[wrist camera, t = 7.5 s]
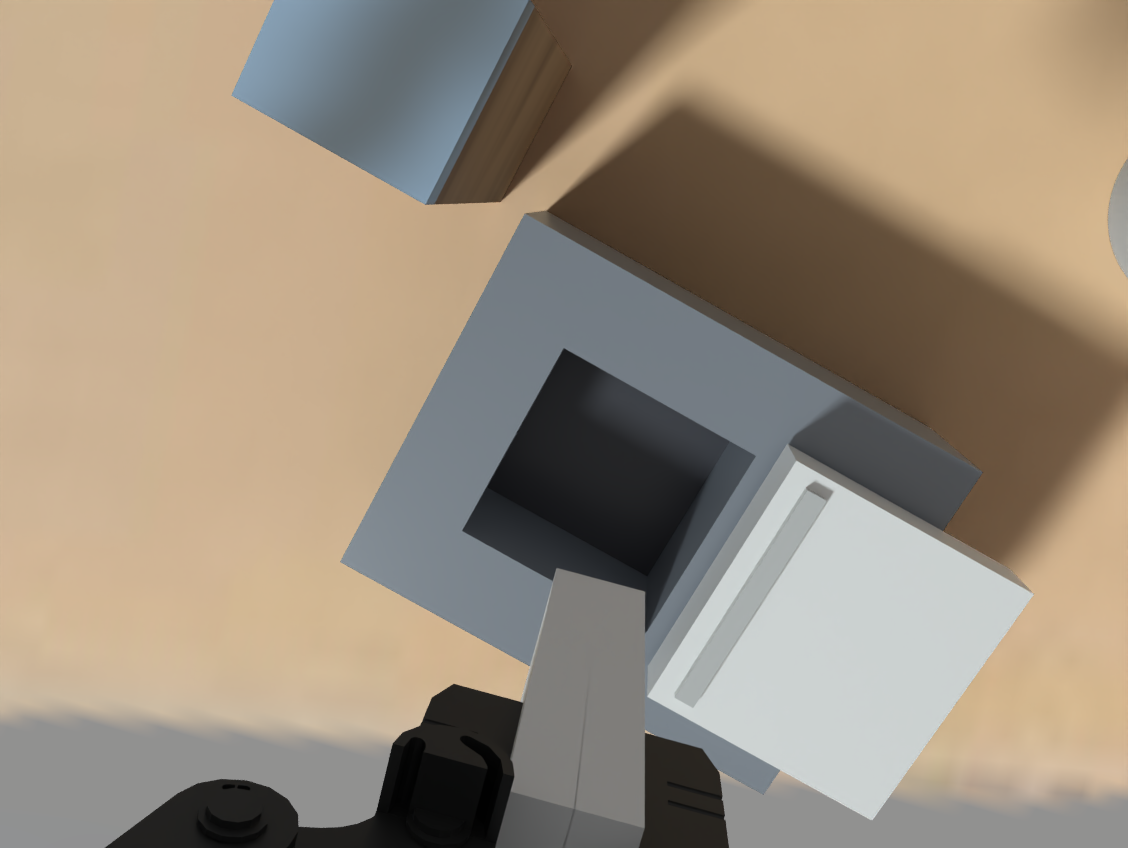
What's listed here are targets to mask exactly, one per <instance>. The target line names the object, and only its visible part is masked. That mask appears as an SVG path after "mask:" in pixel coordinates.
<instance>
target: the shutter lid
mask: <svg viewBox="0 0 1128 848" xmlns="http://www.w3.org/2000/svg"><path fill="white" fill-rule="evenodd" d="M1033 595H1034V594H1033V593H1032V592H1031V591H1030V589H1029V588H1028V587H1027V586H1026V585H1025V584H1024V583H1023V582H1022V581H1021V580H1020V579H1019V578H1018V577H1017V576H1016V575H1015V574H1014V573H1013V572H1012V571H1011V570H1010V569H1009V568H1008V567H1006V566H1004V565H1002V564H1000V563H999V562H997V561H995V560H993V559H992V558H990V557H988V556H986V555H984V554H983V553H981V552H979V551H977V550H976V549H974V548H972V547H970V546H968V545H967V544H965V543H963V542H961V541H960V540H958V539H956V538H954V537H952V536H951V535H949V534H947V533H945V532H943V531H942V530H940V529H938V528H936V527H935V526H933V525H931V524H929V523H927V522H926V521H924V520H922V519H920V518H919V517H917V516H915V515H913V514H911V513H910V512H908V511H906V510H904V509H903V508H901V507H899V506H897V505H895V504H894V503H892V502H890V501H888V500H887V499H885V498H883V497H881V496H879V495H878V494H876V493H874V492H872V491H871V490H869V489H867V488H865V487H863V486H862V485H860V484H858V483H856V482H855V481H853V480H851V479H849V478H847V477H846V476H844V475H842V474H840V473H839V472H837V471H835V470H833V469H831V468H830V467H828V466H826V465H824V464H822V463H821V462H819V461H817V460H815V459H814V458H812V457H810V456H808V455H806V454H805V453H803V452H801V451H799V450H798V449H796V448H794V447H792V446H790V445H789V444H787V445H786V446H785V448H784V450H783V451H782V453H781V454H780V456H779V458H778V459H777V461H776V462H775V464H774V466H773V467H772V469H771V470H770V472H769V474H768V475H767V477H766V478H765V480H764V482H763V483H762V485H761V486H760V488H759V490H758V491H757V493H756V494H755V496H754V498H753V499H752V501H751V502H750V504H749V506H748V507H747V509H746V510H745V512H744V514H743V515H742V517H741V518H740V520H739V521H738V523H737V525H736V526H735V528H734V529H733V531H732V533H731V534H730V536H729V537H728V539H727V541H726V542H725V544H724V545H723V547H722V549H721V550H720V552H719V553H718V555H717V557H716V558H715V560H714V561H713V563H712V565H711V566H710V568H709V569H708V571H707V573H706V574H705V576H704V577H703V579H702V581H701V582H700V584H699V585H698V587H697V589H696V590H695V592H694V593H693V595H692V596H691V598H690V600H689V601H688V603H687V604H686V606H685V608H684V609H683V611H682V612H681V614H680V616H679V617H678V619H677V620H676V622H675V624H674V625H673V627H672V628H671V630H670V632H669V633H668V635H667V636H666V638H665V640H664V641H663V643H662V644H661V646H660V648H659V649H658V651H657V652H656V654H655V656H654V657H653V659H652V660H651V662H650V664H649V665H648V682H647V697H649V698H650V699H652V700H654V701H656V702H658V703H659V704H661V705H663V706H665V707H667V708H669V709H670V710H672V711H674V712H676V713H678V714H679V715H681V716H683V717H685V718H687V719H688V720H690V721H692V722H694V723H696V724H698V725H699V726H701V727H703V728H705V729H707V730H708V731H710V732H712V733H714V734H716V735H718V736H719V737H721V738H723V739H725V740H727V741H728V742H730V743H732V744H734V745H736V746H737V747H739V748H741V749H743V750H745V751H747V752H748V753H750V754H752V755H754V756H756V757H757V758H759V759H761V760H763V761H765V762H767V763H768V764H770V765H772V766H774V767H776V768H777V769H779V770H781V771H783V772H785V773H786V774H788V775H790V776H792V777H794V778H796V779H797V780H799V781H801V782H803V783H805V784H806V785H808V786H810V787H812V788H814V789H815V790H817V791H819V792H821V793H823V794H825V795H826V796H828V797H830V798H832V799H834V800H835V801H837V802H839V803H841V804H843V805H845V806H846V807H848V808H850V809H852V810H854V811H855V812H857V813H859V814H861V815H863V816H865V817H866V818H868V819H870V820H873V818H874V817H875V816H876V814H877V813H878V811H879V810H880V809H881V807H882V806H883V804H884V803H885V801H886V800H887V799H888V797H889V796H890V795H891V793H892V792H893V790H894V789H895V788H896V786H897V785H898V783H899V782H900V781H901V779H902V778H903V776H904V775H905V774H906V772H907V771H908V769H909V768H910V767H911V765H912V764H913V762H914V761H915V760H916V758H917V757H918V755H919V754H920V753H921V751H922V750H923V749H924V747H925V746H926V744H927V743H928V742H929V740H930V739H931V737H932V736H933V735H934V733H935V732H936V730H937V729H938V728H939V726H940V725H941V723H942V722H943V721H944V719H945V718H946V716H947V715H948V714H949V712H950V711H951V709H952V708H953V707H954V705H955V704H956V702H957V701H958V700H959V698H960V697H961V695H962V694H963V693H964V691H965V690H966V688H967V687H968V686H969V684H970V683H971V681H972V680H973V679H974V677H975V676H976V674H977V673H978V672H979V670H980V669H981V667H982V666H983V665H984V663H985V662H986V660H987V659H988V658H989V656H990V655H991V653H992V652H993V651H994V649H995V648H996V647H997V645H998V644H999V642H1000V641H1001V640H1002V638H1003V637H1004V635H1005V634H1006V633H1007V631H1008V630H1009V628H1010V627H1011V626H1012V624H1013V623H1014V621H1015V620H1016V619H1017V617H1018V616H1019V614H1020V613H1021V612H1022V610H1023V609H1024V607H1025V606H1026V605H1027V603H1028V602H1029V600H1030V599H1031V598H1032V596H1033Z"/></svg>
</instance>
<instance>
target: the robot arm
mask: <svg viewBox="0 0 1128 848" xmlns="http://www.w3.org/2000/svg"><path fill="white" fill-rule="evenodd" d="M724 816H725V814H724V806H723V801H722V790H721V782H720V774H719V772H718V770H717V769H716V767H715V766H714V765H713V763H712V762H711V760H710V759H709V757H708V756H707V755H706V753H705V752H704V750H703V749H702V748H698V747H695V746H691V745H687V744H684V743H680V742H676V741H673V740H669V739H665V738H662V737H658V736H654V735H651V734H647V733H645V592H644V591H641V590H637V589H633V588H630V587H626V586H622V585H618V584H615V583H611V582H607V581H604V580H600V579H596V578H592V577H589V576H585V575H581V574H578V573H574V572H570V571H566V570H563V569H559V568H556V572H555V576H554V579H553V583H552V587H551V591H550V594H549V598H548V602H547V605H546V609H545V613H544V617H543V620H542V624H541V628H540V631H539V635H538V639H537V642H536V646H535V650H534V654H533V657H532V661H531V665H530V668H529V672H528V676H527V679H526V683H525V687H524V691H523V694H522V698H521V702H519V701H515V700H511V699H508V698H504V697H500V696H496V695H493V694H489V693H485V692H482V691H478V690H474V689H471V688H467V687H463V686H460V685H456V684H453V685H451V686H450V687H448V688H447V689H445V690H443V691H442V692H440V693H439V694H437V695H435V696H434V697H432V699H431V701H430V704H429V706H428V708H427V711H426V713H425V716H424V718H423V722H422V723H421V725H420V726H419V727H416V728H414V729H411V730H408V731H406V732H403V733H402V734H401V735H400V736H399V737H398V738H397V739H396V741H395V742H394V743H393V745H392V749H391V753H390V757H389V762H388V766H387V770H386V774H385V778H384V782H383V786H382V791H381V795H380V799H379V803H378V807H377V811H376V814H375V816H374V817H372V818H370V819H368V820H366V821H363V822H361V823H358V824H354V825H350V826H344V827H338V828H310V827H298V814H297V812H296V811H295V809H294V808H293V806H292V805H291V803H290V802H289V800H288V799H287V798H285V797H283V796H282V795H280V794H279V793H277V792H276V791H274V790H273V789H271V788H270V787H266V786H263V785H259V784H256V783H253V782H250V781H245V780H227V779H220V780H214V781H209V782H203V783H198V784H196V785H194V786H192V787H190V788H188V789H186V790H184V791H182V792H180V793H178V794H176V795H175V796H174V797H172V798H171V799H170V800H168V801H167V802H166V803H164V804H163V805H162V806H160V807H159V808H158V809H156V810H155V811H154V812H152V813H151V814H150V815H148V816H147V817H145V818H144V819H143V820H141V821H140V822H139V823H137V824H136V825H135V826H134V827H132V828H131V829H130V830H128V831H127V832H125V833H124V834H123V835H121V836H120V837H119V838H117V839H116V840H115V841H113V842H112V843H111V844H109V845H108V846H107V847H106V848H729V845H728V838H727V830H726V821H725V820H724Z"/></svg>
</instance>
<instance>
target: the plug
mask: <svg viewBox="0 0 1128 848" xmlns="http://www.w3.org/2000/svg"><path fill="white" fill-rule="evenodd" d="M571 66H572V65H571V63H570V62H569V60H568V59H567V57H566V55H565V54H564V52H563V51H562V49H561V47H560V46H559V44H558V43H557V41H556V40H555V38H554V36H553V35H552V33H551V32H550V30H549V28H548V27H547V25H546V24H545V22H544V21H543V19H542V17H541V16H540V14H539V13H538V11H537V9H536V8H535V6H534V5H533V3H532V2H531V0H274V2H273V4H272V6H271V8H270V11H269V13H268V15H267V17H266V19H265V22H264V24H263V26H262V28H261V31H260V33H259V35H258V37H257V40H256V42H255V44H254V46H253V49H252V51H251V53H250V55H249V57H248V60H247V62H246V64H245V66H244V69H243V71H242V73H241V75H240V78H239V80H238V82H237V84H236V86H235V89H234V91H233V93H232V96H233V97H235V98H237V99H239V100H240V101H242V102H244V103H246V104H248V105H249V106H251V107H253V108H255V109H256V110H258V111H260V112H262V113H264V114H265V115H267V116H269V117H271V118H272V119H274V120H276V121H278V122H280V123H281V124H283V125H285V126H287V127H288V128H290V129H292V130H294V131H296V132H297V133H299V134H301V135H303V136H304V137H306V138H308V139H310V140H312V141H313V142H315V143H317V144H319V145H320V146H322V147H324V148H326V149H327V150H329V151H331V152H333V153H335V154H336V155H338V156H340V157H342V158H343V159H345V160H347V161H349V162H351V163H352V164H354V165H356V166H358V167H359V168H361V169H363V170H365V171H367V172H368V173H370V174H372V175H374V176H375V177H377V178H379V179H381V180H383V181H384V182H386V183H388V184H390V185H391V186H393V187H395V188H397V189H399V190H400V191H402V192H404V193H406V194H407V195H409V196H411V197H413V198H414V199H416V200H418V201H420V202H422V203H423V204H425V205H429V204H458V203H487V202H501V200H502V198H503V196H504V194H505V192H506V190H507V189H508V187H509V185H510V183H511V181H512V179H513V177H514V175H515V173H516V171H517V169H518V168H519V166H520V164H521V162H522V160H523V158H524V156H525V154H526V152H527V150H528V148H529V146H530V145H531V143H532V141H533V139H534V137H535V135H536V133H537V131H538V129H539V127H540V125H541V124H542V122H543V120H544V118H545V116H546V114H547V112H548V110H549V108H550V106H551V104H552V102H553V101H554V99H555V97H556V95H557V93H558V91H559V89H560V87H561V85H562V83H563V81H564V80H565V78H566V76H567V74H568V72H569V70H570V68H571Z"/></svg>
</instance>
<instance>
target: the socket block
mask: <svg viewBox="0 0 1128 848" xmlns="http://www.w3.org/2000/svg"><path fill="white" fill-rule="evenodd" d="M787 444H789V445H790V446H792V447H794V448H796V449H798V450H799V451H801V452H803V453H805V454H806V455H808V456H810V457H812V458H814V459H815V460H817V461H819V462H821V463H822V464H824V465H826V466H828V467H830V468H831V469H833V470H835V471H837V472H839V473H840V474H842V475H844V476H846V477H847V478H849V479H851V480H853V481H855V482H856V483H858V484H860V485H862V486H863V487H865V488H867V489H869V490H871V491H872V492H874V493H876V494H878V495H879V496H881V497H883V498H885V499H887V500H888V501H890V502H892V503H894V504H895V505H897V506H899V507H901V508H903V509H904V510H906V511H908V512H910V513H911V514H913V515H915V516H917V517H919V518H920V519H922V520H924V521H926V522H927V523H929V524H931V525H933V526H935V527H936V528H938V529H940V530H942V531H943V530H944V529H945V527H946V526H947V524H948V523H949V521H950V520H951V518H952V517H953V516H954V514H955V513H956V511H957V510H958V508H959V507H960V505H961V504H962V502H963V501H964V499H965V498H966V496H967V495H968V493H969V492H970V491H971V489H972V488H973V486H974V485H975V483H976V482H977V480H978V479H979V477H980V476H981V474H982V473H983V472H982V471H981V470H980V469H978V468H977V467H976V466H975V465H974V464H972V463H971V462H970V461H969V460H968V459H967V458H965V457H964V456H963V455H962V454H961V453H959V452H958V451H957V450H956V449H955V448H953V447H952V446H951V445H950V444H949V443H948V442H946V441H945V440H944V439H943V438H942V437H940V436H939V435H938V434H937V433H936V432H934V431H933V430H932V429H931V428H930V427H928V426H926V425H924V424H923V423H921V422H919V421H917V420H916V419H914V418H912V417H910V416H908V415H907V414H905V413H903V412H901V411H900V410H898V409H896V408H894V407H893V406H891V405H889V404H887V403H885V402H884V401H882V400H880V399H878V398H877V397H875V396H873V395H871V394H870V393H868V392H866V391H864V390H862V389H861V388H859V387H857V386H855V385H854V384H852V383H850V382H848V381H847V380H845V379H843V378H841V377H839V376H838V375H836V374H834V373H832V372H831V371H829V370H827V369H825V368H824V367H822V366H820V365H818V364H816V363H815V362H813V361H811V360H809V359H808V358H806V357H804V356H802V355H800V354H799V353H797V352H795V351H793V350H792V349H790V348H788V347H786V346H785V345H783V344H781V343H779V342H777V341H776V340H774V339H772V338H770V337H769V336H767V335H765V334H763V333H762V332H760V331H758V330H756V329H754V328H753V327H751V326H749V325H747V324H746V323H744V322H742V321H740V320H739V319H737V318H735V317H733V316H731V315H730V314H728V313H726V312H724V311H723V310H721V309H719V308H717V307H716V306H714V305H712V304H710V303H708V302H707V301H705V300H703V299H701V298H700V297H698V296H696V295H694V294H693V293H691V292H689V291H687V290H685V289H684V288H682V287H680V286H678V285H677V284H675V283H673V282H671V281H670V280H668V279H666V278H664V277H662V276H661V275H659V274H657V273H655V272H654V271H652V270H650V269H648V268H647V267H645V266H643V265H641V264H639V263H638V262H636V261H634V260H632V259H631V258H629V257H627V256H625V255H624V254H622V253H620V252H618V251H616V250H615V249H613V248H611V247H609V246H608V245H606V244H604V243H602V242H601V241H599V240H597V239H595V238H593V237H592V236H590V235H588V234H586V233H585V232H583V231H581V230H579V229H578V228H576V227H574V226H572V225H570V224H569V223H567V222H565V221H563V220H562V219H560V218H558V217H556V216H555V215H553V214H551V213H549V212H547V211H541V212H533V213H526V214H524V216H523V218H522V220H521V222H520V224H519V226H518V227H517V229H516V231H515V233H514V235H513V237H512V239H511V241H510V243H509V244H508V246H507V248H506V250H505V252H504V254H503V256H502V258H501V260H500V261H499V263H498V265H497V267H496V269H495V271H494V273H493V275H492V276H491V278H490V280H489V282H488V284H487V286H486V288H485V290H484V292H483V293H482V295H481V297H480V299H479V301H478V303H477V305H476V307H475V309H474V310H473V312H472V314H471V316H470V318H469V320H468V322H467V324H466V326H465V327H464V329H463V331H462V333H461V335H460V337H459V339H458V341H457V343H456V344H455V346H454V348H453V350H452V352H451V354H450V356H449V358H448V360H447V361H446V363H445V365H444V367H443V369H442V371H441V373H440V375H439V376H438V378H437V380H436V382H435V384H434V386H433V388H432V390H431V392H430V393H429V395H428V397H427V399H426V401H425V403H424V405H423V407H422V409H421V410H420V412H419V414H418V416H417V418H416V420H415V422H414V424H413V426H412V427H411V429H410V431H409V433H408V435H407V437H406V439H405V441H404V443H403V444H402V446H401V448H400V450H399V452H398V454H397V456H396V458H395V460H394V461H393V463H392V465H391V467H390V469H389V471H388V473H387V475H386V476H385V478H384V480H383V482H382V484H381V486H380V488H379V490H378V492H377V493H376V495H375V497H374V499H373V501H372V503H371V505H370V507H369V509H368V510H367V512H366V514H365V516H364V518H363V520H362V522H361V524H360V526H359V527H358V529H357V531H356V533H355V535H354V537H353V539H352V541H351V543H350V544H349V546H348V548H347V550H346V552H345V554H344V556H343V558H342V560H341V561H340V562H341V563H343V564H345V565H347V566H348V567H350V568H352V569H354V570H356V571H357V572H359V573H361V574H363V575H365V576H367V577H368V578H370V579H372V580H374V581H376V582H377V583H379V584H381V585H383V586H385V587H387V588H388V589H390V590H392V591H394V592H396V593H397V594H399V595H401V596H403V597H405V598H407V599H408V600H410V601H412V602H414V603H416V604H417V605H419V606H421V607H423V608H425V609H427V610H428V611H430V612H432V613H434V614H436V615H437V616H439V617H441V618H443V619H445V620H447V621H448V622H450V623H452V624H454V625H456V626H457V627H459V628H461V629H463V630H465V631H467V632H468V633H470V634H472V635H474V636H476V637H477V638H479V639H481V640H483V641H485V642H487V643H488V644H490V645H492V646H494V647H496V648H497V649H499V650H501V651H503V652H505V653H507V654H508V655H510V656H512V657H514V658H516V659H517V660H519V661H521V662H523V663H525V664H527V665H528V666H530V665H531V661H532V657H533V654H534V650H535V646H536V642H537V639H538V635H539V631H540V628H541V624H542V620H543V617H544V613H545V609H546V605H547V602H548V598H549V594H550V591H551V587H552V583H553V579H554V576H555V572H556V568H559V569H563V570H566V571H570V572H574V573H578V574H581V575H585V576H589V577H592V578H596V579H600V580H604V581H607V582H611V583H615V584H618V585H622V586H626V587H630V588H633V589H637V590H641V591H644V592H645V730H647V731H648V732H650V733H652V734H654V735H656V736H658V737H662V738H665V739H669V740H673V741H676V742H680V743H684V744H687V745H691V746H695V747H698V748H702V749H703V750H704V752H705V753H706V755H707V756H708V757H709V759H710V760H711V762H712V763H713V765H714V766H715V767H716V769H717V770H719V771H721V772H723V773H725V774H727V775H728V776H730V777H732V778H734V779H736V780H737V781H739V782H741V783H743V784H745V785H747V786H748V787H750V788H752V789H754V790H756V791H757V792H759V793H761V794H763V795H764V793H765V792H766V790H767V789H768V787H769V786H770V784H771V783H772V781H773V780H774V778H775V777H776V776H777V774H778V773H779V771H780V770H779V769H777V768H776V767H774V766H772V765H770V764H768V763H767V762H765V761H763V760H761V759H759V758H757V757H756V756H754V755H752V754H750V753H748V752H747V751H745V750H743V749H741V748H739V747H737V746H736V745H734V744H732V743H730V742H728V741H727V740H725V739H723V738H721V737H719V736H718V735H716V734H714V733H712V732H710V731H708V730H707V729H705V728H703V727H701V726H699V725H698V724H696V723H694V722H692V721H690V720H688V719H687V718H685V717H683V716H681V715H679V714H678V713H676V712H674V711H672V710H670V709H669V708H667V707H665V706H663V705H661V704H659V703H658V702H656V701H654V700H652V699H650V698H649V697H647V682H648V665H649V664H650V662H651V660H652V659H653V657H654V656H655V654H656V652H657V651H658V649H659V648H660V646H661V644H662V643H663V641H664V640H665V638H666V636H667V635H668V633H669V632H670V630H671V628H672V627H673V625H674V624H675V622H676V620H677V619H678V617H679V616H680V614H681V612H682V611H683V609H684V608H685V606H686V604H687V603H688V601H689V600H690V598H691V596H692V595H693V593H694V592H695V590H696V589H697V587H698V585H699V584H700V582H701V581H702V579H703V577H704V576H705V574H706V573H707V571H708V569H709V568H710V566H711V565H712V563H713V561H714V560H715V558H716V557H717V555H718V553H719V552H720V550H721V549H722V547H723V545H724V544H725V542H726V541H727V539H728V537H729V536H730V534H731V533H732V531H733V529H734V528H735V526H736V525H737V523H738V521H739V520H740V518H741V517H742V515H743V514H744V512H745V510H746V509H747V507H748V506H749V504H750V502H751V501H752V499H753V498H754V496H755V494H756V493H757V491H758V490H759V488H760V486H761V485H762V483H763V482H764V480H765V478H766V477H767V475H768V474H769V472H770V470H771V469H772V467H773V466H774V464H775V462H776V461H777V459H778V458H779V456H780V454H781V453H782V451H783V450H784V448H785V446H786V445H787Z"/></svg>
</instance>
